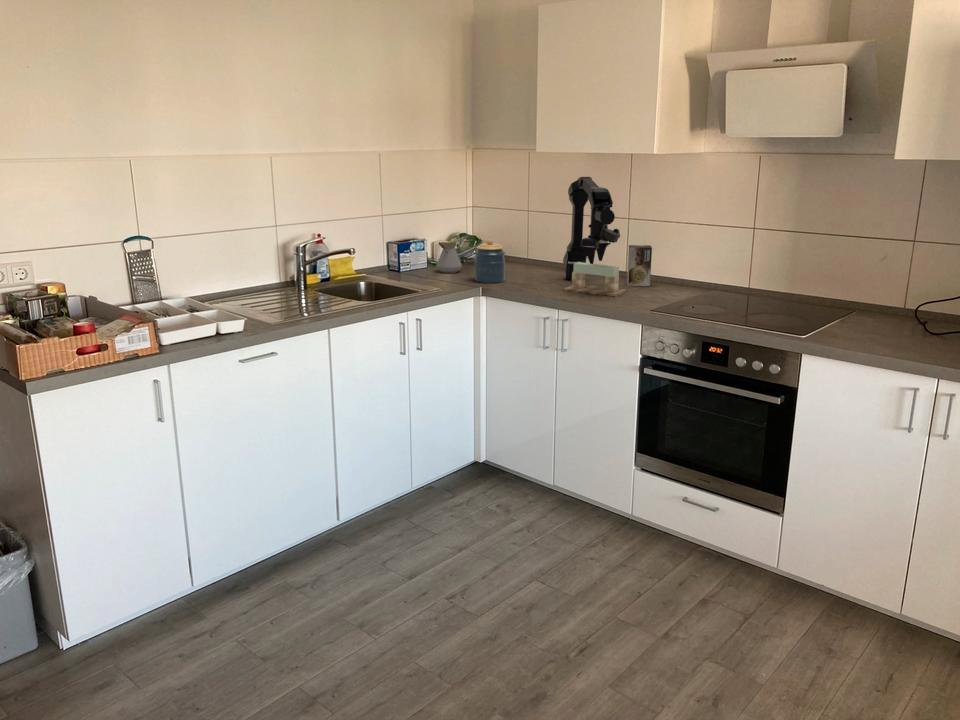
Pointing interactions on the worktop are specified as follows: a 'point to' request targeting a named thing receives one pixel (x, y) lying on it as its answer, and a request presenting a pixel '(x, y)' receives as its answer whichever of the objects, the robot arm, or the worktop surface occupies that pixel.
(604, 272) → the sage plank
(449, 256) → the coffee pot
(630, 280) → the coffee box
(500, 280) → the canister
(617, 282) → the birch gate
